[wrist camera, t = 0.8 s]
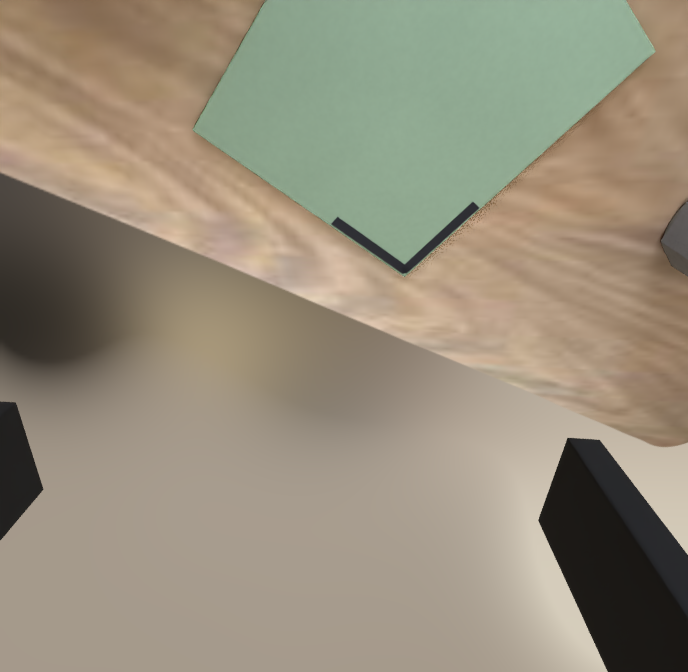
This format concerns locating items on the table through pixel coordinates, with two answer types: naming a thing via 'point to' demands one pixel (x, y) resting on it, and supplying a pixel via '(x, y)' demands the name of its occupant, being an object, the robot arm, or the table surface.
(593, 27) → the desk mat
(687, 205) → the coffeepot
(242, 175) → the table surface
